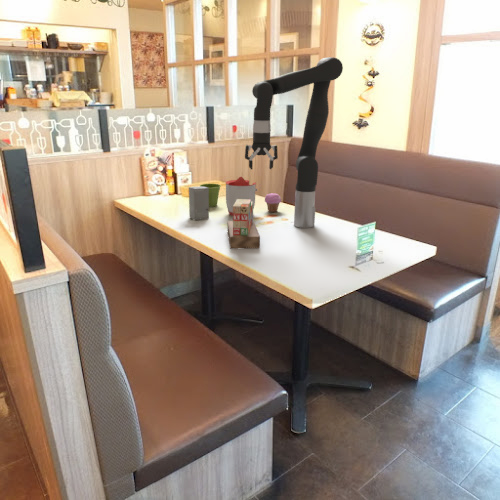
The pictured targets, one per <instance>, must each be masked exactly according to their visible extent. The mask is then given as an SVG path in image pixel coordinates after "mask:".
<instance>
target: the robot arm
mask: <svg viewBox="0 0 500 500" xmlns="http://www.w3.org/2000/svg"><path fill="white" fill-rule="evenodd" d="M343 67H344V66H343V63H342V61H341V60H340V59H339V58H337V57H334V56H333V57H332V56H331V57H323V58H321V59H320V60H318V61H317V64H316V66H313V67H309V68H305V69H301V70H300V69H299V70H296V71H292V72H288V73H285V74H282V75H278V76H277V77H274V78H270V79H267V80H263V81H260V82H257V83H255V84H254V86H253V87H252V91H251V92H252V95H253V97H254V98H256V105H255V107H254V109H253V123H252V145H248V144H246V145H245V147H244V148H245V149H244V159H245V160H248V168H249V169H250V170H253V159H254V158H255V157H256V156H267V157H268V158H269V170H272V169H273V168H274V161H275V160H278V156H279V155H278V145H277V144H273V145H271V131H272V130H271V129H272V126H271V107H272V105H273V104H272V103H273V99H274V98H273V97H274V96H275V95H282V94H285V93H288V92H291V91H295V90H298V89H299V88H303V87H305V86H308V85H311V84H313V87H312V93H311V96H310V101H309V106H308V109H307V110H308V111H307V114H306V117H305V123H304V130H303V134H302V142H301V146H300V149H299V152H298V156H297V158H296V161H295V168H296V171H297V180H296V184H295V195H294V196H295V197H294V215H293V226H294V227H296V228H301V229H308V228H314V227H315V220H316V206H315V202H316V190H317V189H316V187H317V183H318V174H319V163H318V161H317V159H316V157H317V155H316V153H317V148H318V145H319V142H320V140H321V139H322V136H323V135H324V132H325V129H326V128H327V127H326V125H327V123H328V117H329V110H330V109H329V100H328V99H329V98H328V97H329V88H330V84H331V81H335V80H338V78H340V76H341V75H342V73H343V69H344V68H343ZM251 149H252V150H253V151H252V153H251V154H250V156H249V151H250V150H251ZM271 149H272V151H273V156H272V154H271V153H270V150H271Z"/></svg>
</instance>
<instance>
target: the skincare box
mask: <svg viewBox="0 0 500 500" xmlns="http://www.w3.org/2000/svg"><path fill="white" fill-rule="evenodd" d="M188 205H189V206H188V208H189V214H188V215H189V218H190V219H191V220H193V221H201V220H206V219H207V220H208V219H210V209H209V188H207V187H204V186H200V185H199V186H189V187H188Z"/></svg>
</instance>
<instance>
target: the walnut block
mask: <svg viewBox="0 0 500 500" xmlns="http://www.w3.org/2000/svg"><path fill="white" fill-rule="evenodd" d="M226 224H227V225H226V226H227V227H226V228H227V230H226V231H228V232H227V236H228V237H229V238H228V242H229V243H228V244H229V248H230V249H231V250H233V249H234V250H237V249H238V248H244V249H260V247H261V246H260V245H261V236H260V234H259V230H258V228H257V225H256V223H255V220H253V222H252V225H251V228H250V231H249V233H248V235H233V220H227V223H226ZM238 250H239V249H238Z"/></svg>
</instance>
